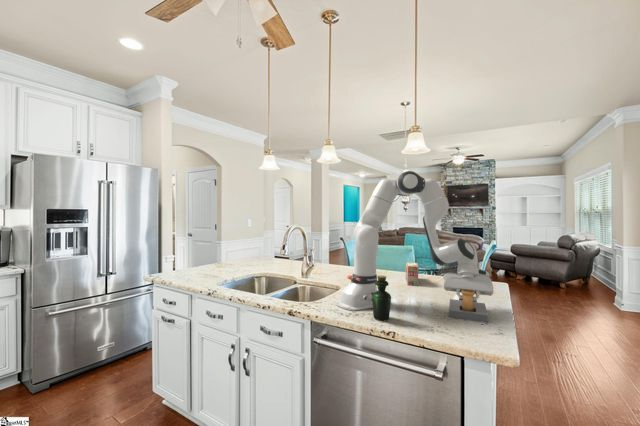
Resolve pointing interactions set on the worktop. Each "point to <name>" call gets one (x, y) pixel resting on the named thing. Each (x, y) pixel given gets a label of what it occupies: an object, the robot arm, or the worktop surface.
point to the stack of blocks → (412, 274)
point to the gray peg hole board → (476, 315)
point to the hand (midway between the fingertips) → (467, 300)
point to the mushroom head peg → (467, 300)
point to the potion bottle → (381, 300)
